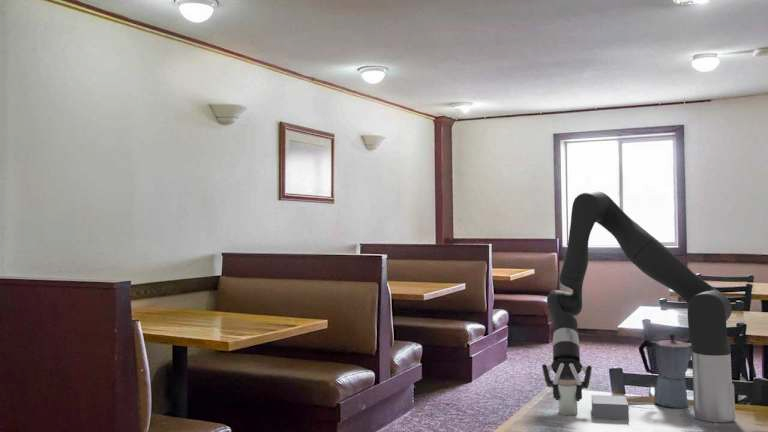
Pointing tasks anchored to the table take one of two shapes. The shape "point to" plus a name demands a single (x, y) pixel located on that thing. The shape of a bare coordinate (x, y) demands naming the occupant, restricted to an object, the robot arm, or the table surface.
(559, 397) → the canister
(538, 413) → the table surface
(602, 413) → the stand
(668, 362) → the moka pot
